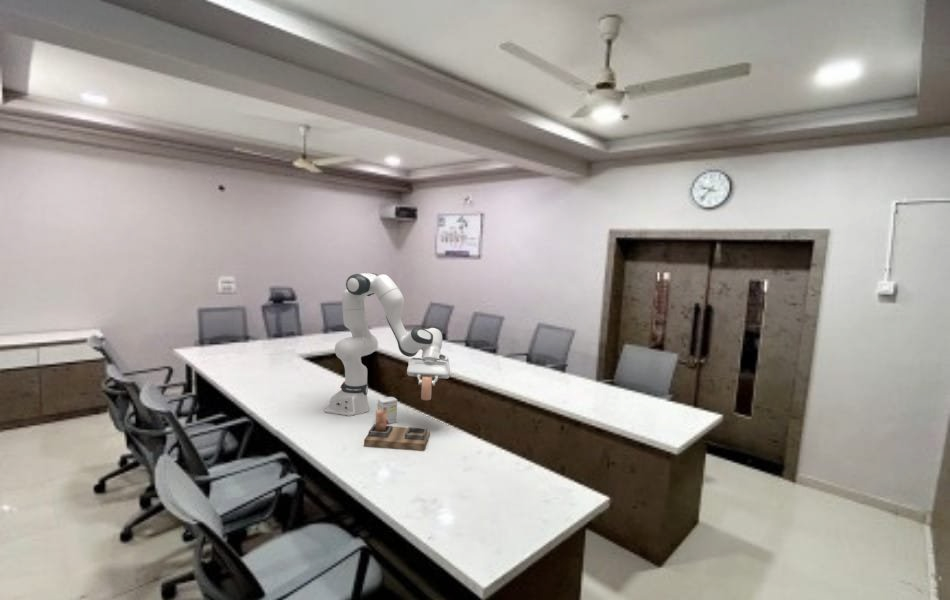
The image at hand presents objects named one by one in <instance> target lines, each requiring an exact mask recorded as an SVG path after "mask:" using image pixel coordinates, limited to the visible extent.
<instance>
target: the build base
mask: <svg viewBox="0 0 950 600" xmlns="http://www.w3.org/2000/svg"><path fill="white" fill-rule="evenodd" d="M386 415H387V411H386V410H383V409H380V410H375V424H373V425H372V426H371V428H370V429H369V430H368V432H367V433H368V434H367V435H366V436H365V438H364V439H363V441H364V442H363V446H364V447H369V448H370V447H371V448H381V449H383V448H384V449H395V450H396V449H397V450H409V451H421V452H422V451H424V452H425V450H426V446H427V444H428V442H429V439H430V436H431V429H429V428H427V427H415V426H408V427H403V426H400V427H399V426H393V425H391V424H386Z"/></svg>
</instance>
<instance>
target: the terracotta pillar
mask: <svg viewBox="0 0 950 600" xmlns="http://www.w3.org/2000/svg"><path fill="white" fill-rule="evenodd" d="M421 380H422V385H421V391H420V395H421V396H420V400H423V401H430V400H432V388H433V387H432V386H433V385H431V383H432V381H433V377H430V376H424V377H421Z"/></svg>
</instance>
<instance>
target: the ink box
mask: <svg viewBox="0 0 950 600" xmlns="http://www.w3.org/2000/svg"><path fill="white" fill-rule="evenodd" d="M380 409H383V410H386V411H387V415H386V425H391V424H395V423H397V422H398V421H397V417H398V399H397V398H396V397H394V396H387V397H380V398H378V400H377V410H380ZM377 410H376V411H377Z"/></svg>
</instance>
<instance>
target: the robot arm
mask: <svg viewBox="0 0 950 600" xmlns="http://www.w3.org/2000/svg"><path fill="white" fill-rule="evenodd" d="M345 288H346V289H345V290H343V293H342V299H341V301H342V302H341V308H342V309H341V310H342V319H343V326H344V327H345V328H346V329H348V330H349V331H350V333H351V335H352V336H349V337H345V338H342V339H341V340H339V341H337V342H336V344H335V345H334V353H335V356H336V357H337V358H338V359H339V360H341V362H342V365H343V366H344V367H343V368H344V377H345V378H344V381H343V382H342V383H341V385H340V390H338V391H337V392H336V393H334V394H333V395H332V396H331V397H330V399H329V402H328V404H327V405H326V406H325V407H324V409H323V410H324V413H329V414H335V415H342V416H348V417H351V416H355V415H360V414H361V415H362V414H365V413H367V412H368V411H370V406H369V401H368V399H369V398H368V393H369V383H368V368H367V366H366V365H364V364H363V363H362V357H365V356H368V355H371V354H373V353H374V352H376V351H377V349H378V347H379V342H378V339H377V337H376V336H375V335H374V334H372V332H371V331H370V328H369V327H368V324H367V318H366V316H367V315H366V309H365V299H366V297H371V296H373V295H375V296H376V297H377V299H378V301H379V302H380V305H381V306H382V308H383V311H384V314H385V318H386V321H387V323H388V326H389V327H390V329H391V331H392V333H393V335H394V336H393V337H395V340H396V342H397V347H398V350H399V352H400V353H401V354H402V355H403V356H405V357H408V358H409V359H408V362H407V364H408V366H407V369H406V374H407V375H408V377H416V378H417V380H418V385H420V386H422V377H424V376H430V377H432V379H433V378H434V379H433V380H432V383H431V385H432V386H433V387H434V386H436V383H437V381H438V380H439V379H449V378H450V375H451V372H450V371H451V370H450V362H449V361H450V360H449V357H448V356H447V355H444V354H442V353H441V350H442V348H443V346H442V345H443V334H442V332H441V330H440V329H438V328H435V327H430V328H423V327H420V326H416V327H414V328H412V329H411V330H410V331H409V332H407V330H406V328H405V325H404V324H403V322H402V319H401V318H402V311H403V309H404V308H403V307H404V305H405V299H404V295H403V293H402V291H401V290H400V288H399V287H398V286H397V284H396V283H395V282H394V281H393V279H392V278H391V277H389V275H387V274H383V273H382V274H379V275H378V274H377V273H372V272H371V273H370V272H361V273H354V274H352V275H350V276H349V277H348V278H347V279H346V282H345ZM420 350H421V351H422V353H421V357H415V356H416V355H417V354H418V352H419V351H420Z"/></svg>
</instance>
